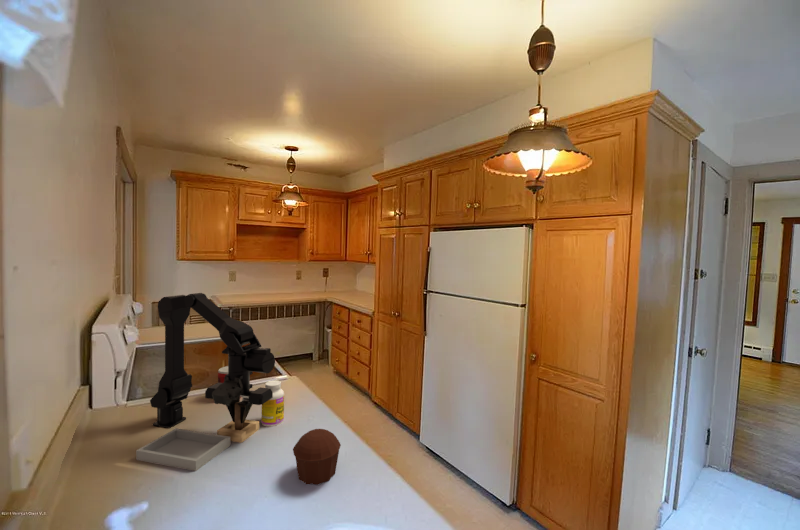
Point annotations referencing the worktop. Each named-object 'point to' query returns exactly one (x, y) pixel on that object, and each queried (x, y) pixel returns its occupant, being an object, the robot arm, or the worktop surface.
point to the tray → (183, 449)
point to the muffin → (316, 456)
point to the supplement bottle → (273, 405)
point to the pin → (238, 418)
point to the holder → (239, 435)
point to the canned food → (222, 374)
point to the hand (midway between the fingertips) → (238, 422)
